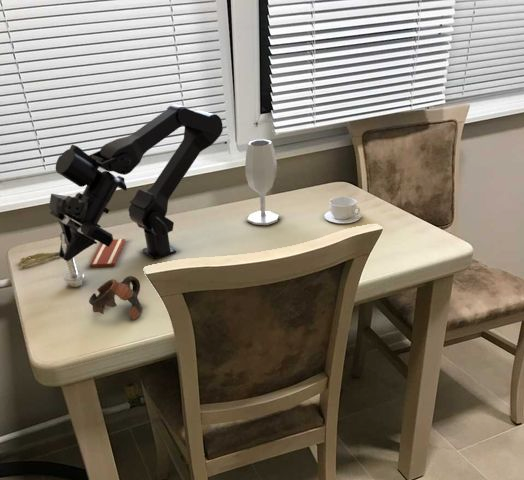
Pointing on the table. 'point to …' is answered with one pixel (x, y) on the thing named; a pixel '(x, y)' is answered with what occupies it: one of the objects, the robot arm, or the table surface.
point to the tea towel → (107, 254)
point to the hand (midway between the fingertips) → (63, 258)
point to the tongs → (38, 258)
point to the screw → (71, 266)
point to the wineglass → (261, 177)
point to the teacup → (343, 210)
